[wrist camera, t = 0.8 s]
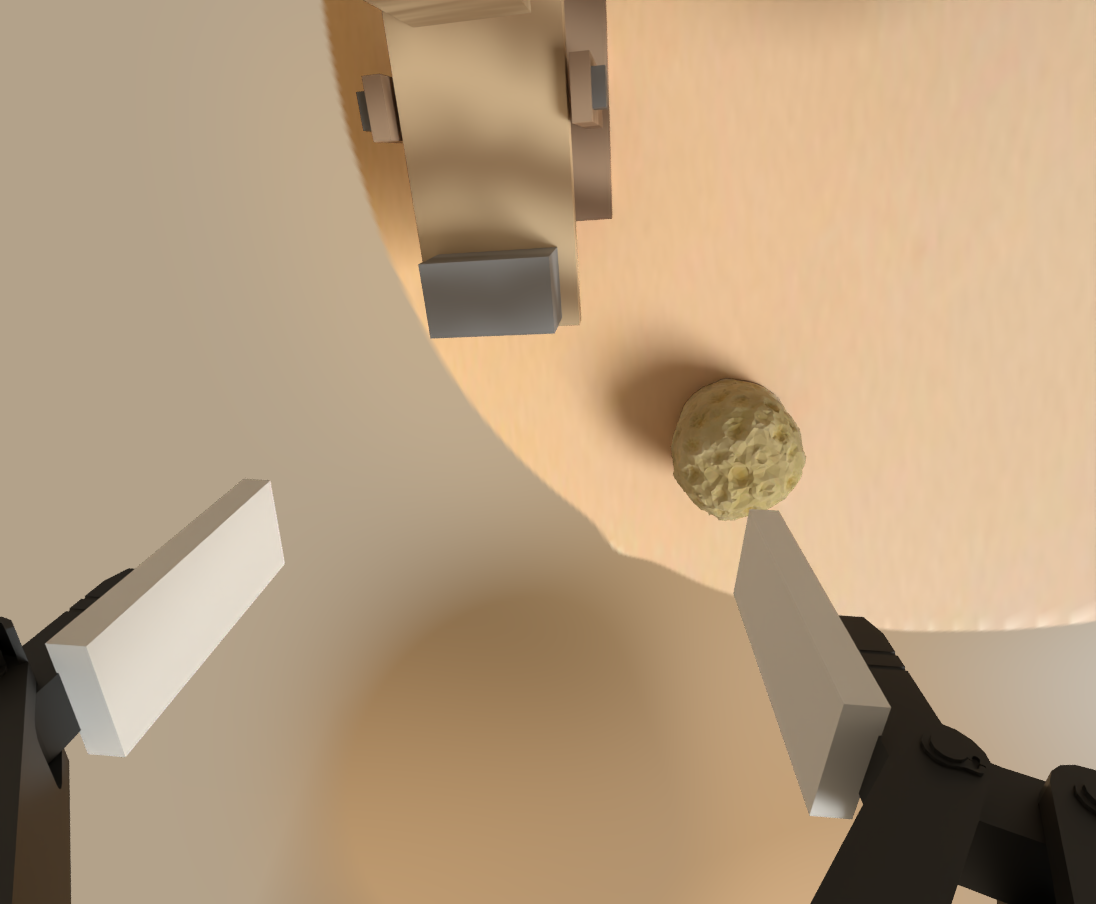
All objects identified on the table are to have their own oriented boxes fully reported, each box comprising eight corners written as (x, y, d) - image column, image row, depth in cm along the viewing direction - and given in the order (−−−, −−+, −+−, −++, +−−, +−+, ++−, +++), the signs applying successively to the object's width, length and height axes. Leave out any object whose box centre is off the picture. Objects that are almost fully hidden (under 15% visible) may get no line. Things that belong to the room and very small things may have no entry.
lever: (581, 320, 37) (564, 368, 29) (439, 326, 38) (385, 373, 30) (555, -164, 27) (517, -300, 19) (367, -132, 29) (258, -245, 20)
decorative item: (689, 369, 50) (620, 438, 45) (802, 351, 42) (735, 432, 37) (730, 461, 53) (671, 536, 48) (843, 460, 45) (786, 549, 40)
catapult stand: (616, 217, 42) (609, 236, 32) (436, 229, 44) (381, 250, 34) (609, -57, 35) (598, -132, 26) (398, -27, 37) (317, -87, 28)
